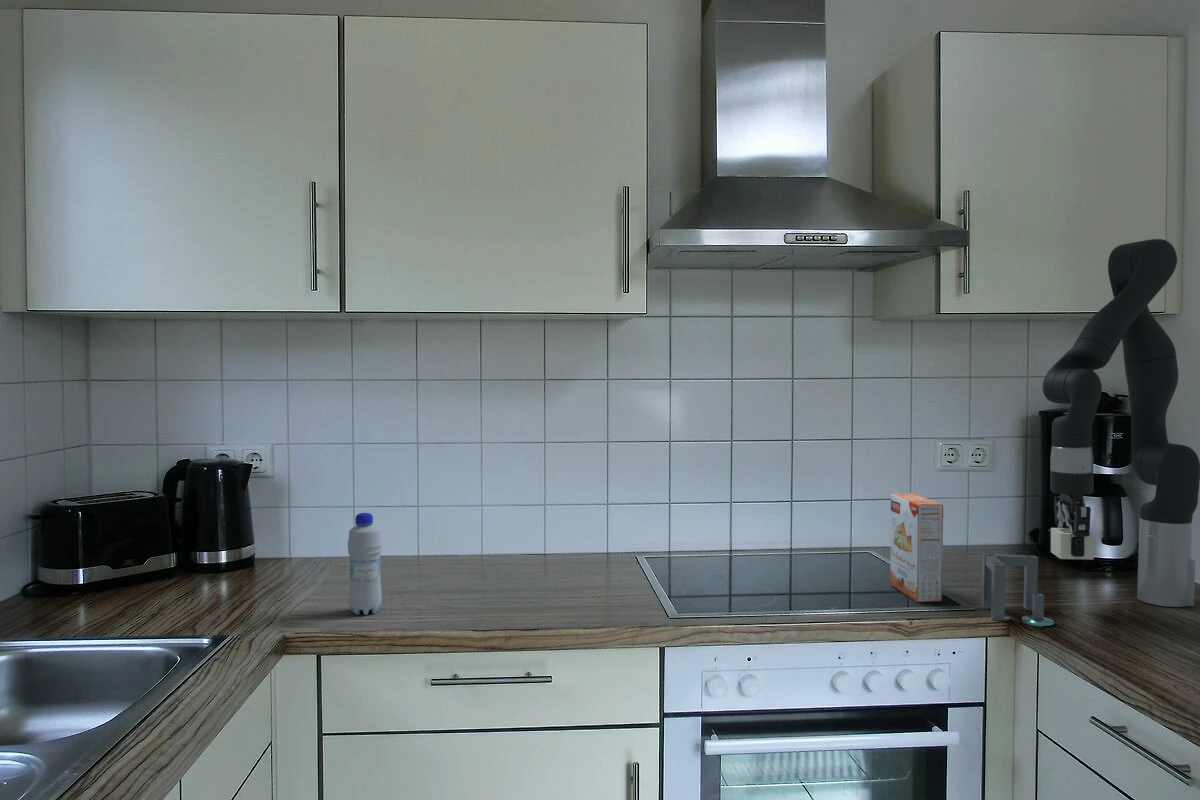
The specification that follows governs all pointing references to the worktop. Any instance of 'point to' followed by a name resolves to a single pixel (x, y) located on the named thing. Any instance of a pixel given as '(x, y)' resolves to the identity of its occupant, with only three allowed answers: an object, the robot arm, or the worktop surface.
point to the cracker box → (916, 547)
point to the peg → (1037, 613)
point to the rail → (996, 581)
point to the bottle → (364, 565)
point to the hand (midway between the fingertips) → (1071, 552)
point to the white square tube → (1069, 544)
